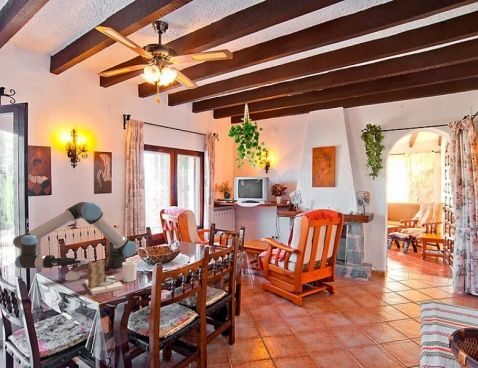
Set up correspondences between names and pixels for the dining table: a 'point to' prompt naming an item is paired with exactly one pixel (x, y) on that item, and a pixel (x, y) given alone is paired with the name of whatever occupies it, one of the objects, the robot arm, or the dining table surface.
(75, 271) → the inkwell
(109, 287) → the dial plate
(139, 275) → the dining table surface
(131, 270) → the candle holder
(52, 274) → the dining table surface
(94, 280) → the wooden bookend
